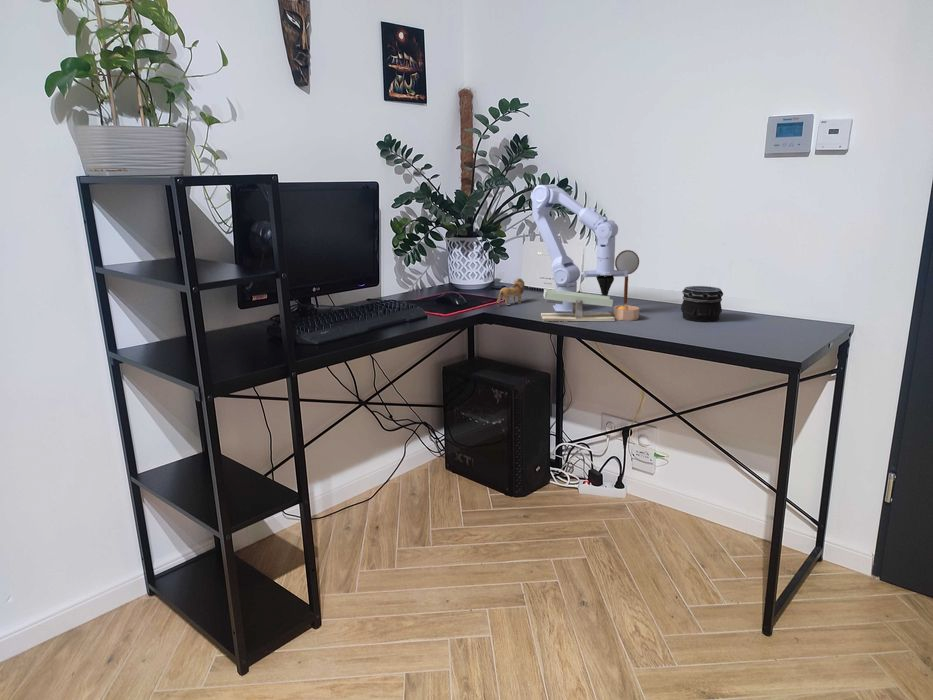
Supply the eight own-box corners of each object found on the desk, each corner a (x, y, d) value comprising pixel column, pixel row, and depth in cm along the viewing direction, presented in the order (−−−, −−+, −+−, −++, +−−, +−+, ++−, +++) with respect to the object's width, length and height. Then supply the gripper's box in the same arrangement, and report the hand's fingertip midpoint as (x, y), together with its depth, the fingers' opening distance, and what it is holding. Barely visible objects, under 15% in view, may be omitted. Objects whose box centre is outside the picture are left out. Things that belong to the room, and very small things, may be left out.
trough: (541, 295, 227) (542, 285, 226) (607, 303, 227) (609, 293, 226) (544, 302, 215) (545, 292, 214) (613, 310, 215) (615, 300, 214)
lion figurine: (516, 300, 252) (516, 277, 250) (527, 302, 249) (528, 278, 247) (492, 306, 241) (492, 282, 239) (504, 308, 238) (504, 283, 236)
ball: (618, 303, 219) (628, 307, 220) (614, 313, 220) (623, 317, 220) (620, 305, 216) (630, 309, 216) (616, 315, 217) (625, 319, 217)
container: (716, 314, 222) (719, 285, 219) (725, 323, 210) (727, 292, 207) (677, 314, 224) (679, 285, 221) (683, 322, 211) (685, 291, 209)
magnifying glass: (614, 306, 237) (616, 250, 232) (612, 305, 239) (614, 250, 234) (637, 306, 238) (640, 250, 233) (636, 305, 240) (639, 249, 234)
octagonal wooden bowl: (611, 315, 223) (611, 305, 222) (635, 315, 223) (635, 305, 222) (615, 320, 215) (616, 310, 214) (640, 320, 215) (641, 310, 214)
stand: (540, 315, 225) (541, 294, 223) (609, 314, 224) (609, 293, 222) (543, 322, 214) (543, 300, 213) (615, 321, 214) (615, 299, 212)
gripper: (585, 259, 217) (584, 300, 221) (630, 259, 217) (628, 299, 220) (582, 257, 224) (581, 296, 227) (625, 256, 223) (624, 296, 227)
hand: (604, 298), depth 224 cm, fingers closed, pressing on trough
